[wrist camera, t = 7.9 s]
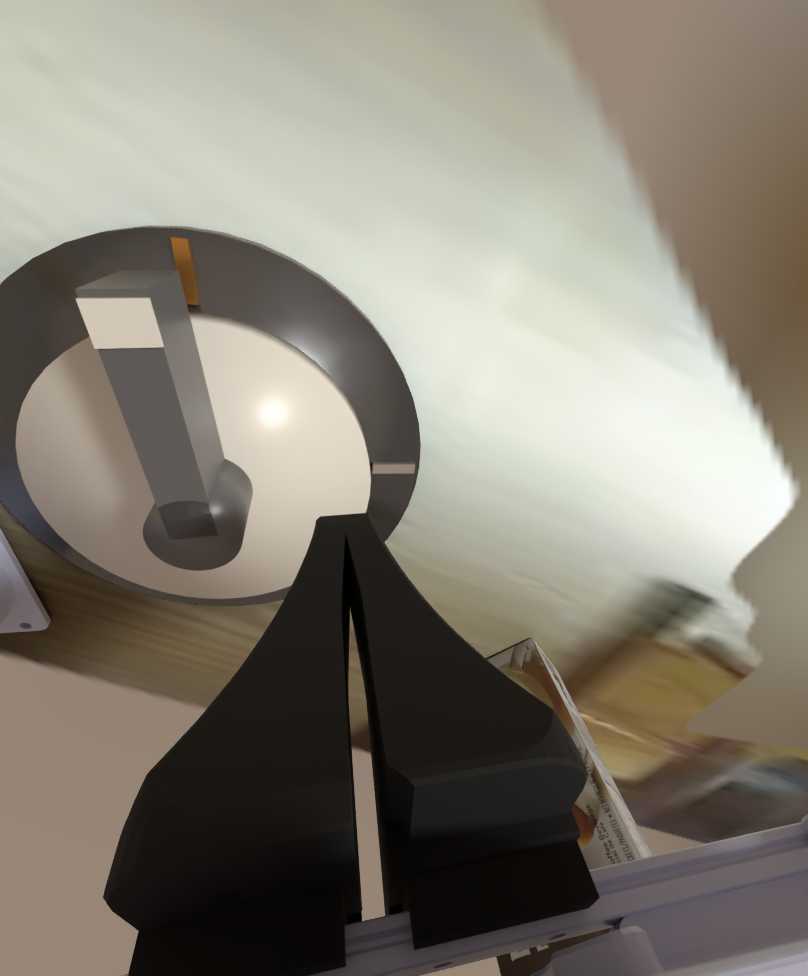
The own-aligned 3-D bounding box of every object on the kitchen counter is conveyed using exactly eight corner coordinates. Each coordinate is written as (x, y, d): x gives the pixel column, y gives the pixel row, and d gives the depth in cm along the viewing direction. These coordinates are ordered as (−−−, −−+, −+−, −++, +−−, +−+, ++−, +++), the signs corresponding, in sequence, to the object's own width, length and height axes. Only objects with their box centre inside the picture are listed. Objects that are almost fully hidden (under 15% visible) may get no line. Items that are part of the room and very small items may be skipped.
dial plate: (67, 601, 23) (56, 620, 22) (-136, 195, 13) (-174, 195, 12) (398, 583, 26) (401, 598, 25) (441, 251, 16) (449, 255, 15)
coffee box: (463, 714, 37) (542, 999, 24) (428, 685, 33) (498, 1000, 20) (559, 669, 35) (700, 947, 22) (533, 633, 32) (684, 939, 19)
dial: (370, 563, 23) (380, 634, 20) (109, 588, 21) (65, 673, 18) (362, 264, 15) (377, 289, 11) (-63, 262, 13) (-215, 290, 9)
